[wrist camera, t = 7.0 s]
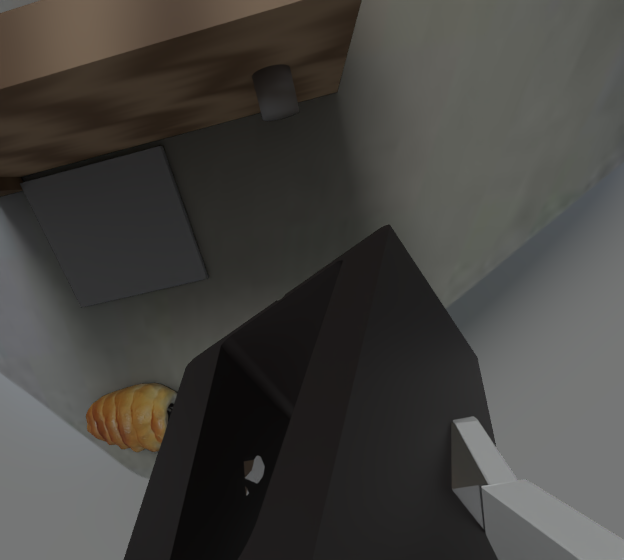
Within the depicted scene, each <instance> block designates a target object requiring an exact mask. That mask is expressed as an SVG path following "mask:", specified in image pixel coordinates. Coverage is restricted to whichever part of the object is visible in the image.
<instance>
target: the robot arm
mask: <svg viewBox="0 0 624 560" xmlns="http://www.w3.org/2000/svg"><path fill="white" fill-rule="evenodd" d="M451 466H452V490H453V491H454V493H455V494H456V495H457V496H458V498H459V499H460V500H461V501H462V503H463V504H464V505H465V507H466V508H467V509H468V510H469V512H470V513H471V514H472V515H473V517H474V518H475V519H476V520H477V522H478V523H479V524H480V525H481V527H482V528H483V529H484V530H485V532H486V536H487V538H488V540H489V542H490V544H491V546H492V548H493V550H494V552H495V554H496V556H497V558H498V560H624V539H622V538H620V537H619V536H617V535H615V534H614V533H612V532H611V531H609V530H607V529H606V528H604V527H603V526H601V525H599V524H598V523H596V522H595V521H593V520H591V519H590V518H588V517H586V516H585V515H583V514H582V513H580V512H578V511H577V510H575V509H573V508H572V507H570V506H569V505H567V504H565V503H564V502H562V501H561V500H559V499H557V498H556V497H554V496H552V495H551V494H549V493H548V492H546V491H544V490H542V489H541V488H539V487H538V486H536V485H535V484H533V483H531V482H530V481H528V480H527V479H524V480H518V479H517V478H516V476H515V475H514V473H513V472H512V470H511V469H510V467H509V466H508V464H507V463H506V461H505V460H504V458H503V457H502V455H501V454H500V452H499V451H498V449H497V448H496V446H495V445H494V443H493V442H492V440H491V439H490V437H489V436H488V434H487V433H486V431H485V430H484V428H483V427H482V425H481V424H480V422H479V421H478V419H477V418H475V417H474V416H472V417H467V418H461V419H456V420H453V422H452V423H451ZM264 467H265V466H264V464H263V461H262V459H261V456H250V457H246V458H245V460H244V473H245V478H246V479H248V480H250V481H253V482H255V483H258V482H259V481H260V480H261V478H262V477H263V473H264ZM245 487H246V486H245ZM248 494H249V492H248V489H247V488H246V496H247V495H248Z"/></svg>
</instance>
